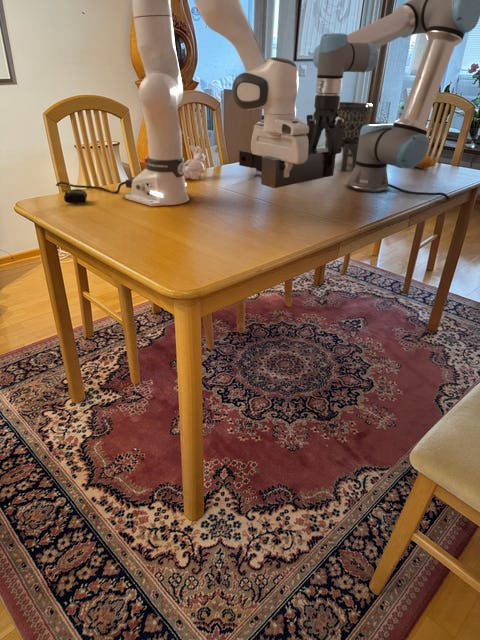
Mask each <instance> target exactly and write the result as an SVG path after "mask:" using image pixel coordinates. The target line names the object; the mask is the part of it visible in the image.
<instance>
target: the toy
mask: <svg viewBox="0 0 480 640" xmlns="http://www.w3.org/2000/svg"><path fill="white" fill-rule="evenodd" d="M436 164H437V163H436V160H434V159H432V158H431V157H430V156H429V155H428V154H426V156H425V158H424V159H423V160H422V161H421V162H420V163H419V164H418V165H416V166H415V167H418V168H420V169H428V168H432V167H434V166H435V165H436Z"/></svg>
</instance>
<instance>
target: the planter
mask: <svg viewBox="0 0 480 640" xmlns="http://www.w3.org/2000/svg"><path fill="white" fill-rule="evenodd" d="M373 107H374V106H373V104H372V103H367V102H353V101H340V106H339V109H338V117H340V118H341V119H345V120H346V121H345V124H344V127H343V140H342V152H341V166H340V170H341V172H345V171H347V167H348V166H347V165H348V159H349V155H348V152H349V150H350V151H351V153H352V155H351V157H352V158H351V159H352V160H351V161H352V166H353V167H355V165H356V158H357V150H358V142H359V136H360V131H361V128H362V127H363V126H365V125H370V121H371V116H372V112H373ZM335 123H336V122H335ZM335 127H336V124H335ZM329 129H331V128H329ZM334 132H335V131H334ZM324 139H325V144H324V148H327V149H328V143H327V134H326V132H325V131H324Z"/></svg>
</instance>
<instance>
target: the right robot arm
mask: <svg viewBox="0 0 480 640" xmlns="http://www.w3.org/2000/svg"><path fill="white" fill-rule="evenodd" d="M479 20H480V0H409V1H407V2H405V3H403V4H400V5H399V6H398V7H397V8H396V9H395V10H394V12H392V13H390V14H388V15H386V16H383V17H382V18H379V19H377V20H375V21H373V22H371V23H369V24H367V25H365V26H363V27H360V28H358V29H357V30H355V31H352V32H351V33H348V34H347V33H336V32H335V33H331V32H330V33H324V34H322V35H321V37H320V42H319V44H318V45H317V46H316V47H315V49H314V50H313V53H312V62H313V65H314V67H315V68H316V69H317V71H316V73H317V74H316V84H315V93H316V95H315V96H314V105H313V106H314V107H313V108H314V109H315V111H314V112H313V114H307V115H306V124H307V125H308V126H309V132H308V134H305V135H307V137H308V141H309V148H308V150H310V149H316V148H317V147H318V144H319V141H320V138H321V136H322V132H323V130H324V133H325V132H326V134H327V143H328V152H329V154H327V155H326V163H325V172H324V176H325V178H328V177H327V176H329V177H332V176H331V174H332V166H333V165H334V163H335V164H336V157H335V155H338V154H342V140H343V127H344V124H345V121H346V120H345V119H341V118H340V117H338V109H339V106H340V102H341V96H340V95H341V93H342V88H343V78H344V73H368V72H371V71H373V70H374V69H375V68H376V66H377V64H378V62H379V56H380V52H379V48H381V47H383V46H385V45H386V44H387V45H388V44H389V43H391V42H393V41H395V40H398V39H399V38H409V37H411V36H413V35H420V34H425V37H426V39H427V44H426V45H425V49H424V52H423V54H422V57H421V60H420V63H419V64H418V69H417V71H416V73H415V76H414V79H413V82H412V84H411V88H410V90H409V93H408V96H407V99H406V101H405V105H404V107H403V110H402V114H401V116H400V118H398V119H397V120H395V121H394V122H393V123H381V124H380V123H379V124H369V125H365V126H363V127H362V128H361V131H360V136H359V142H358V150H357V158H356V165H355V166H354V167H353V171H351V174H350V176H349V179H348V182H347V187H348V188H349V189H351V190H354V191H358V192H363V193H364V192H365V193H382V192H386V191H388V189H389V188H392V189H393V190H396V191H399V192H401V193H405V194H410V195H416V196H417V195H418V196H443V197H444V198H445V199H446V200H450V196H449V195H448V194H447V193H445V192H440V191H439V192H427V191H424V192H423V191H411V190H407V189H403V188H400V187H398V186H396V185H393V184H390V183H389V178H388V173H387V172H388V171H387V166H389V165H390V166H393V167H396V168H399V169H407V170H409V169H413V168H415V167H417V166H416V165H418V164H419V163H420V162H421V161H422V160H423V159H424V158H425V156H426V155H428V152H429V147H430V144H429V143H430V140H429V138H428V136H427V134H428V128H427V126H426V125H427V124H426V123H427V121H428V119H429V116H430V113H431V110H432V108H433V105H434V102H435V100H436V97H437V95H438V93H439V89H440V87H441V84H442V81H443V78H444V76H445V74H446V71H447V68H448V65H449V62H450V60H451V58H452V55H453V52H454V50H455V47H457V46H458V45H460V44H461V43H462V42H463V39H464V37H465V35H466V34H467V33H469V32H471V31H473V30H474V29H475V28H476V26H477V25H478V23H479ZM335 122H336V123H335ZM335 124H336V127H335ZM329 128H331V129H329ZM334 131H335V132H334ZM334 166H335V165H334Z"/></svg>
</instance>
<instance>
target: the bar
mask: <svg viewBox="0 0 480 640" xmlns="http://www.w3.org/2000/svg"><path fill="white" fill-rule="evenodd" d="M327 154H329V152H328V149H327V148H325V147H318V148H316V149H310V150H308V158H307V160H306V162H305V163H302V164H294V163H293V166H292V168H291V170H290V171H289V177H287V178H285V177H282V171H283V170H284V169H285V167H286V165H285V161H281V160H280V159H276V158H272V157H268V156H265V157H262V175H261V179H260V180H261V182H260V184H261V185H262V186H266V187H268V188H273V189H278V188H283V187H286V186H292V185H296V184H301V183H305V182H310V181H315V180H321V179H324V178H329V177H333V176H334V171H335V165H336V162H335V163H334V165H333V166H332V174H331V176H327V177H325V176H324V172H325V163H326V155H327ZM336 155H337V154H336ZM336 155H335V158H336V157H337V156H336Z"/></svg>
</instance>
